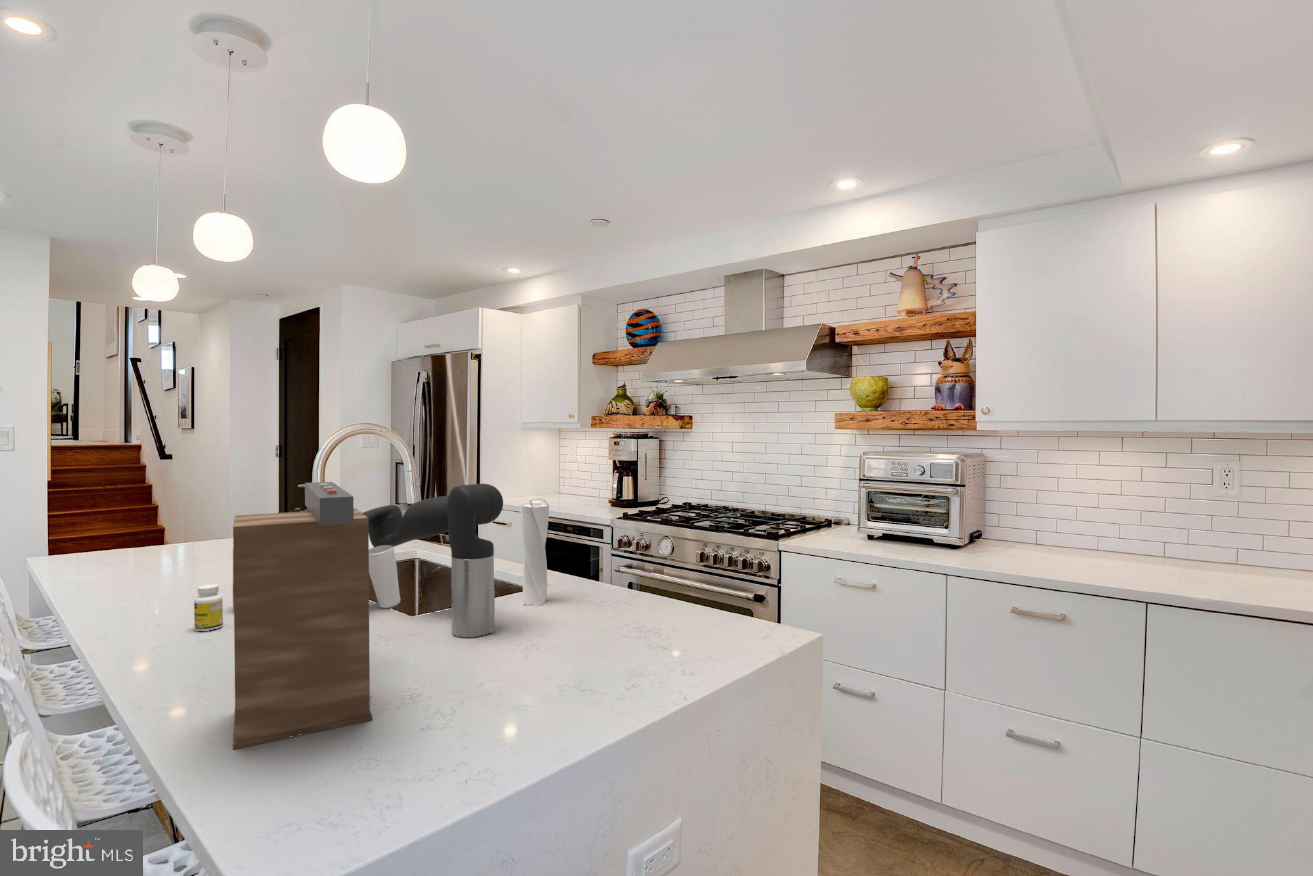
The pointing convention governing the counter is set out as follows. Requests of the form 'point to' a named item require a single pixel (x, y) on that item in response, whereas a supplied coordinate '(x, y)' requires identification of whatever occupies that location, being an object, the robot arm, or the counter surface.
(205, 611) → the supplement bottle
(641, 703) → the counter surface
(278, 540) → the brown tall block
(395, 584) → the drinking glass
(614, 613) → the counter surface
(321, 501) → the power strip
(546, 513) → the twisted white column
